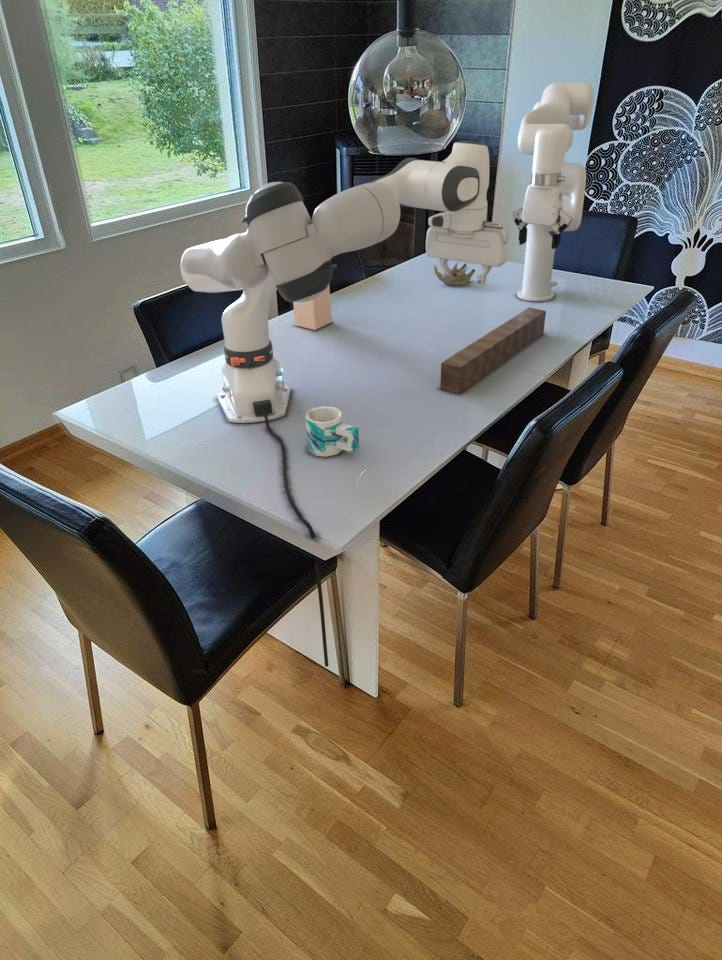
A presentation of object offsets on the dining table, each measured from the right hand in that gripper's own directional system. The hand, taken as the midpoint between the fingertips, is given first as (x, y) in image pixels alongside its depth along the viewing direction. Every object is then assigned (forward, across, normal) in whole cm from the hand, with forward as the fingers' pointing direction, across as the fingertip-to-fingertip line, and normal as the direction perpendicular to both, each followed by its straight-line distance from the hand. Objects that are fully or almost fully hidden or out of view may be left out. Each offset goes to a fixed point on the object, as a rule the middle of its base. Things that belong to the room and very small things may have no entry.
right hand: (538, 245), depth 188 cm
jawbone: (+27, +47, -33) cm, 63 cm away
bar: (+27, 0, +21) cm, 34 cm away
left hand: (-1, 0, +41) cm, 41 cm away
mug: (+27, +6, +86) cm, 90 cm away
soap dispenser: (+27, +61, +27) cm, 72 cm away
